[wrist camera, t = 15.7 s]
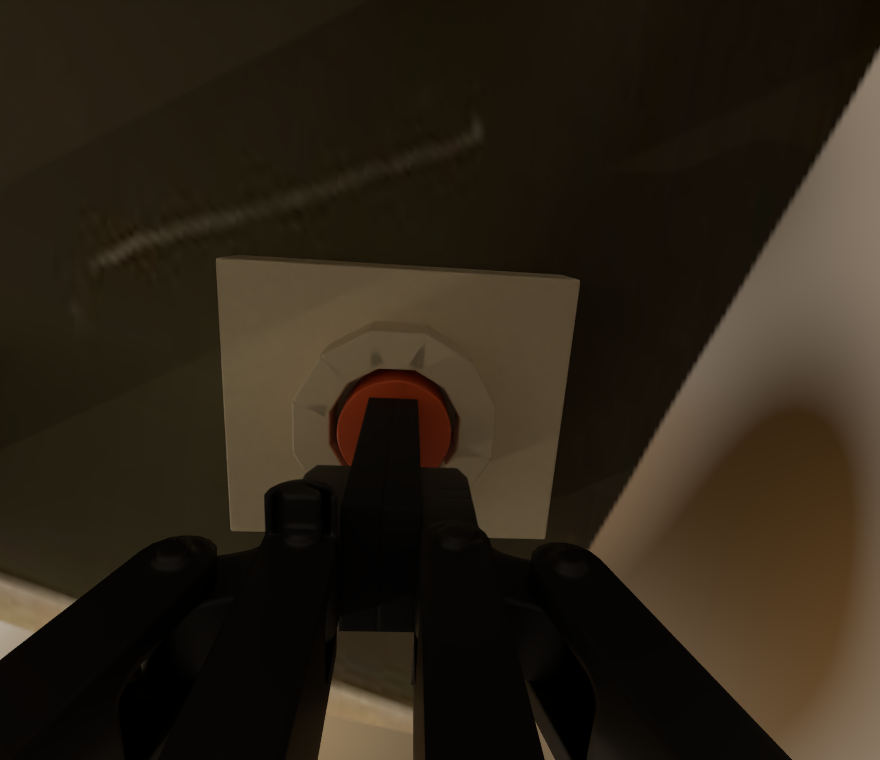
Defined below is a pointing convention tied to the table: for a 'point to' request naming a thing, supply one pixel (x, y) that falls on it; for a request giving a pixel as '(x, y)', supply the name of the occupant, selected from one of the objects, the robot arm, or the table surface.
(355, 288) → the button box
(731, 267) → the table surface
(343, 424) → the button
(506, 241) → the table surface
